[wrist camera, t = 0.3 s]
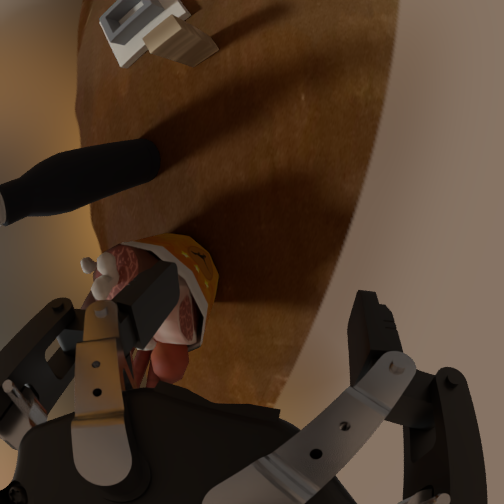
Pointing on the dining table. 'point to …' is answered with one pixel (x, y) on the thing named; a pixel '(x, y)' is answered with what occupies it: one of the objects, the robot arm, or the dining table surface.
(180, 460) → the robot arm
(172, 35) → the slat
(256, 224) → the dining table surface
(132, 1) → the socket base
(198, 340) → the bucket of meat
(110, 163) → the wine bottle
